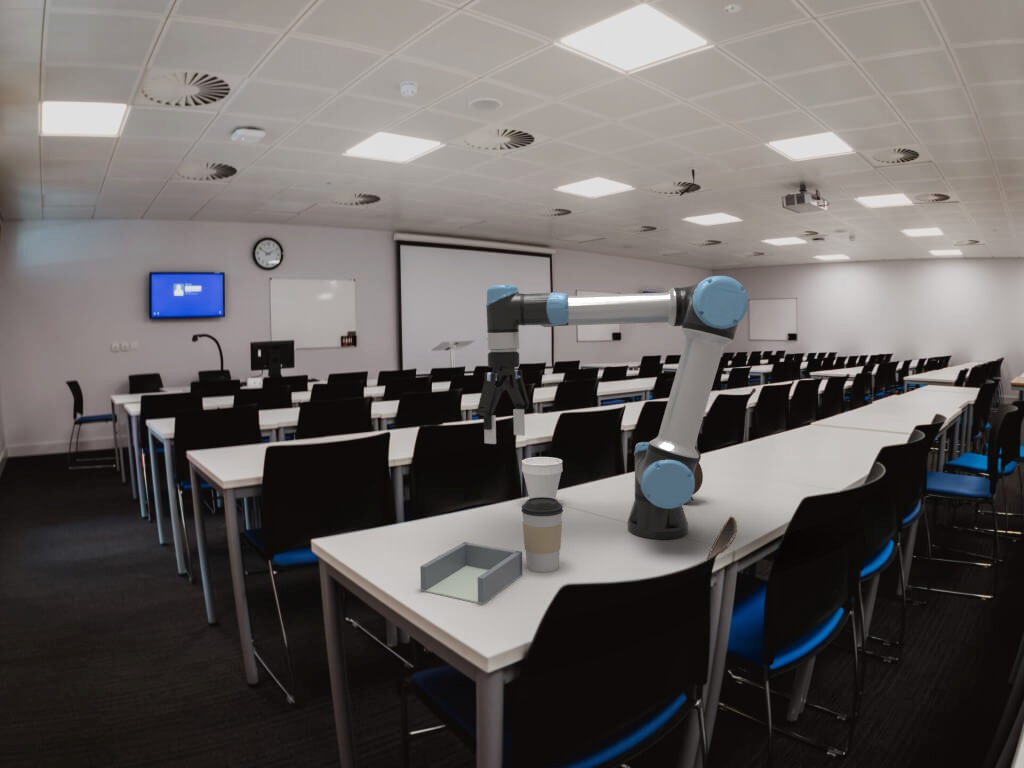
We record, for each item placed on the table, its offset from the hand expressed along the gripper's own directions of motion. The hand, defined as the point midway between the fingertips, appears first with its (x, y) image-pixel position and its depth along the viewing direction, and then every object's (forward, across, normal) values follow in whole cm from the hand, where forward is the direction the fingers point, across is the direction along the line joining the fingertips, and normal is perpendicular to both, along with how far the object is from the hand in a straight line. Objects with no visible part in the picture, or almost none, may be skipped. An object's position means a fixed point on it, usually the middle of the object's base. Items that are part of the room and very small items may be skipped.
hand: (505, 439), depth 147 cm
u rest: (+26, +25, +6) cm, 36 cm away
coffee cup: (+26, +9, +14) cm, 31 cm away
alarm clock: (+26, -58, +26) cm, 69 cm away
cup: (+26, -35, -8) cm, 44 cm away
